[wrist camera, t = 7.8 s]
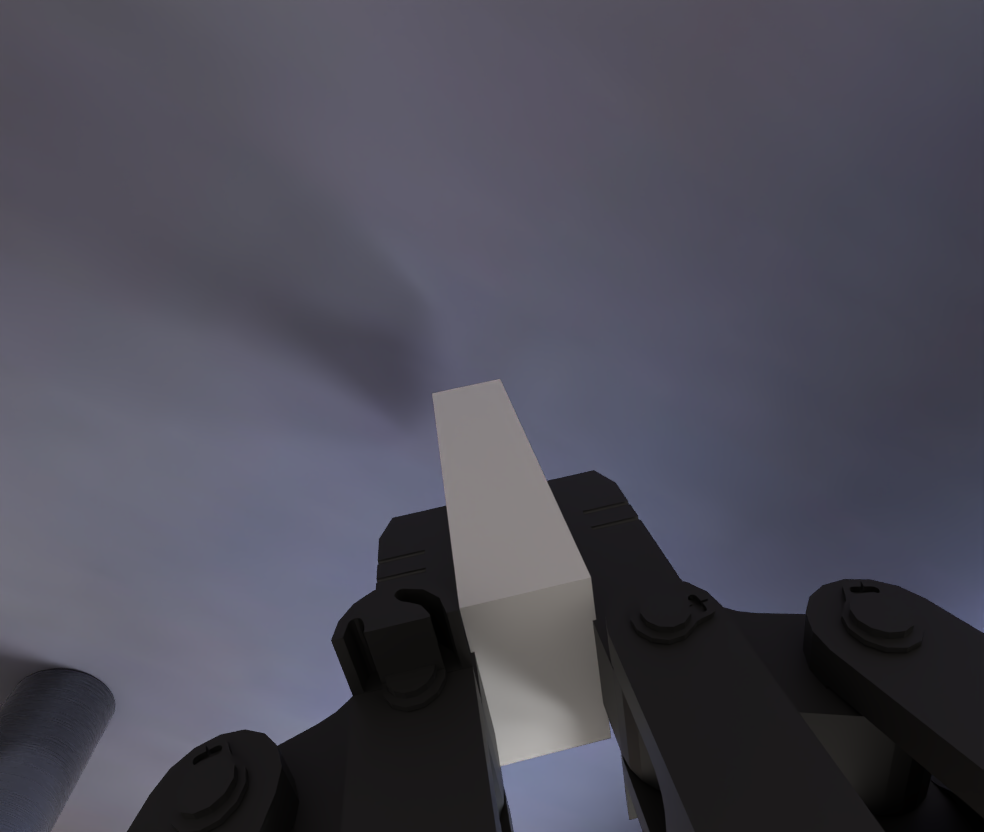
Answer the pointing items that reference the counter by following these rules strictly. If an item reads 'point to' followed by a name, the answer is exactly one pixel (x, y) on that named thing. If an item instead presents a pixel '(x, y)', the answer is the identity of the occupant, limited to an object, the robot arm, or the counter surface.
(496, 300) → the counter surface
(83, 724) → the post
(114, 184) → the counter surface
